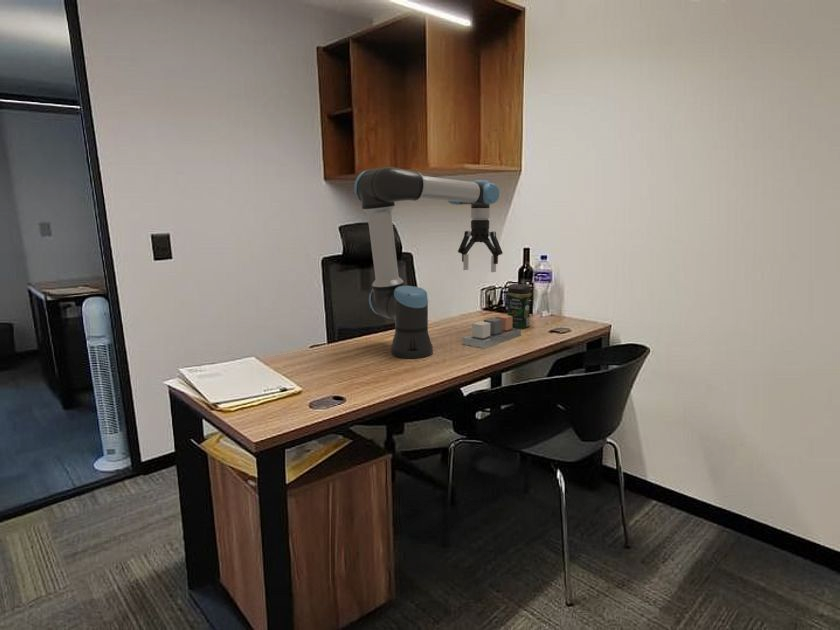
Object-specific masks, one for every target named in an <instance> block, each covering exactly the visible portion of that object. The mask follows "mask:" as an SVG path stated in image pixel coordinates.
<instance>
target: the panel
mask: <svg viewBox="0 0 840 630" xmlns="http://www.w3.org/2000/svg"><path fill="white" fill-rule="evenodd" d="M521 332H522V328H514V327H512V329H509V330H502V332H500V333H497V334H490V336H488V337H485V338H478V337H473V336H472V334H471V335H467V336H464V337H462V345H464V346H469V345H470V346H469V347H475V348H478V349H479V348H480V349H487V348H490V347H492V346H495V345H498V344H501V343H504V342H507V341H509V340H512V339H515V338H517V337H519V336H521V335H522V333H521Z"/></svg>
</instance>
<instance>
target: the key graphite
mask: <svg viewBox="0 0 840 630" xmlns="http://www.w3.org/2000/svg"><path fill="white" fill-rule="evenodd" d="M483 322H488V323H490V334H497V333H500V332H502V319H496V318H495V317H489V318H486V319H483Z"/></svg>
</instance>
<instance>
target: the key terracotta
mask: <svg viewBox="0 0 840 630" xmlns="http://www.w3.org/2000/svg"><path fill="white" fill-rule="evenodd" d="M494 318H496V319H502V330H509V329H512V328H513V327H512V322H513V316H508V314H507V315H506V314H499V315H496V316H495V317H494Z"/></svg>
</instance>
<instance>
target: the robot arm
mask: <svg viewBox="0 0 840 630" xmlns="http://www.w3.org/2000/svg"><path fill="white" fill-rule="evenodd" d="M353 189H354V194H355V196H356V199H358V201H359V202H360V203H361V208H362V211H363V212H364V213H366V215H367V220H368V221H367V223H368V228H369V237H370V243H371V244H370V246H371V253H372V262H373V269H374V278H375V279H374V281H373V283H372V284H371V286H372V289H371V292H370V293H369V296H368V303H369V307H370V309H371V310H372V312H373V313H374V314H376V315H377V316H380V317H382V318H386V319H390V320H393V321H394V335H393V339H392V342H391V345H390V354H391V355H392V356H393V357H397V358H399V359H400V358H401V359H421V358H426V357H428V356H431V355H433V354H434V346H433V344H432V341H431V337H430V334H429V331H428V328H429V321H428V320H429V319H428V318H429V312H428V311H429V309H428V308H429V298H428V293H427V291H426V290H425V289H424V288H422V287H419V286H412V285H404V280H403V279H402V278H401V277H399V268H398V259H397V251H396V250H397V249H396V242H395V233H394V232H395V231H394V225H393V216H392V211H393V209H395V207H396V204H395V202H396V203H397V202H402V201H418V200H420V199H426V200H438V201H447V202H448V203H449V204H450V205H456V206H459V205H460V206H461V205H462V206H463V205H470V218H471V220H470V229H471V230H465V231H464V234H463V235H464V236H463V238H462V240H461V243H460V245H459V247H458V250H457V253H459V254H461V262H462V263H463V266H462V267H463V268H462V269H463V271H468V270H469V256H470V255H469V251H470V250H471V248H472V247H473V246H474V244H475V243H484V244H485V246H486V247H487V248H488V250H489V251H490V253H491V255H492V256H491V257H490V258H491V260H490V273H496V272H497V265H498V264H499V256H501V255H503V254H504V252H503V251H502V248H501V244H500V243H499V241H498V237H497V232H496V231H490V212H491V211H490V210H491V209H490V205H491V204H495V203H497V202H498V200H499V198H500V189H499V187H498V185H497V183H496V184H495V183H494V182H493V183H492V182H490V181H489V180H487V179H486V180H484V179H483V180H481V179H479V180H472V181H467V180H459V179H451V178H445V177H443V178H442V177H435V176H430V175H429V176H427V175H422V173H421V172H419V171H413V170H408V169H404V168H399V167H395V166H385V167H380V168H379V167H378V168H369V169H367V170H364V171H362V172H360V173H359V174H358V176H357V177H356V179H355V181H354V185H353ZM470 237H471V238H470ZM489 237H490V238H489ZM469 239H470V240H469ZM490 239H491V240H490Z"/></svg>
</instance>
